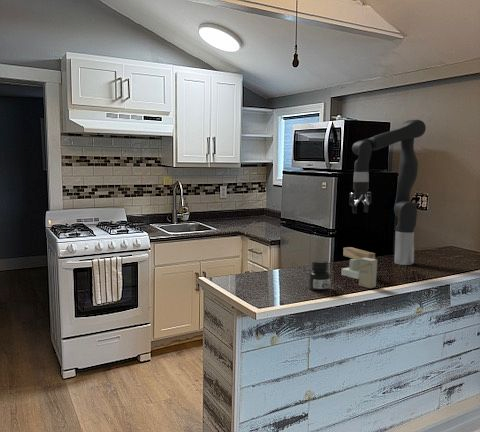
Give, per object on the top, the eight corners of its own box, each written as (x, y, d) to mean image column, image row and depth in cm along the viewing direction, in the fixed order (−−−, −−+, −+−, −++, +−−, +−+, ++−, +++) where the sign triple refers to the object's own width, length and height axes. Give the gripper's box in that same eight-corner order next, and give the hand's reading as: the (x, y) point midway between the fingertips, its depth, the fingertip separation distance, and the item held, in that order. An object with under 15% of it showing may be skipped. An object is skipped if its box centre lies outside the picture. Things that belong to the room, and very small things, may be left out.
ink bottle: (315, 292, 190) (315, 264, 189) (304, 287, 198) (304, 260, 197) (334, 290, 194) (335, 262, 192) (323, 285, 202) (323, 258, 200)
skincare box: (358, 285, 200) (359, 258, 199) (364, 284, 203) (364, 257, 202) (371, 288, 196) (372, 260, 195) (376, 286, 199) (377, 259, 198)
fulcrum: (358, 271, 227) (358, 255, 226) (374, 275, 219) (375, 259, 218) (341, 274, 220) (341, 258, 219) (357, 279, 212) (357, 262, 211)
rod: (349, 255, 228) (349, 247, 227) (374, 262, 211) (375, 253, 211) (343, 255, 226) (343, 247, 225) (367, 262, 210) (368, 254, 209)
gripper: (364, 180, 239) (363, 211, 241) (345, 181, 231) (344, 213, 233) (376, 180, 233) (375, 212, 235) (357, 181, 225) (356, 214, 227)
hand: (360, 212), depth 234 cm, fingers open, 8 cm apart
